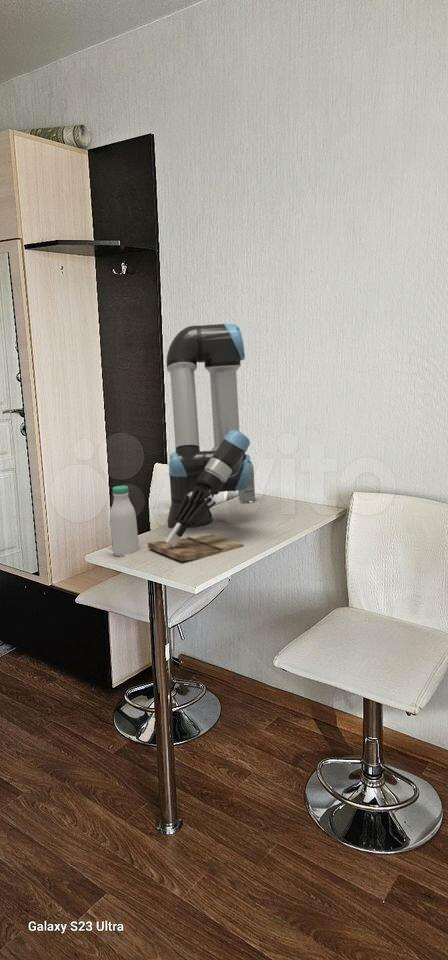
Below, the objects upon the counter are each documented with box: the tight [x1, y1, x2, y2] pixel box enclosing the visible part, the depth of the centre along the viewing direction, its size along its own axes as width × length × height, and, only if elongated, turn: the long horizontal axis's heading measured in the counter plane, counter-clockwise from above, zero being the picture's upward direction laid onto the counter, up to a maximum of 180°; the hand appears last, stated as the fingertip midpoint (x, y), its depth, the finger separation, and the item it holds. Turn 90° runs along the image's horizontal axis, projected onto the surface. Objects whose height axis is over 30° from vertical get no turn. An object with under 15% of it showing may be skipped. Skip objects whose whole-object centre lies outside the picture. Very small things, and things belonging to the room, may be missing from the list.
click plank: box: [147, 537, 221, 562], centre depth 201 cm, size 18×2×13 cm
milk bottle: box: [109, 485, 140, 557], centre depth 204 cm, size 8×8×20 cm
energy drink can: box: [238, 460, 256, 502], centre depth 260 cm, size 6×6×15 cm
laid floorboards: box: [186, 532, 245, 554], centre depth 208 cm, size 18×8×2 cm, turn 37°
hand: (169, 544), depth 198 cm, fingers closed
